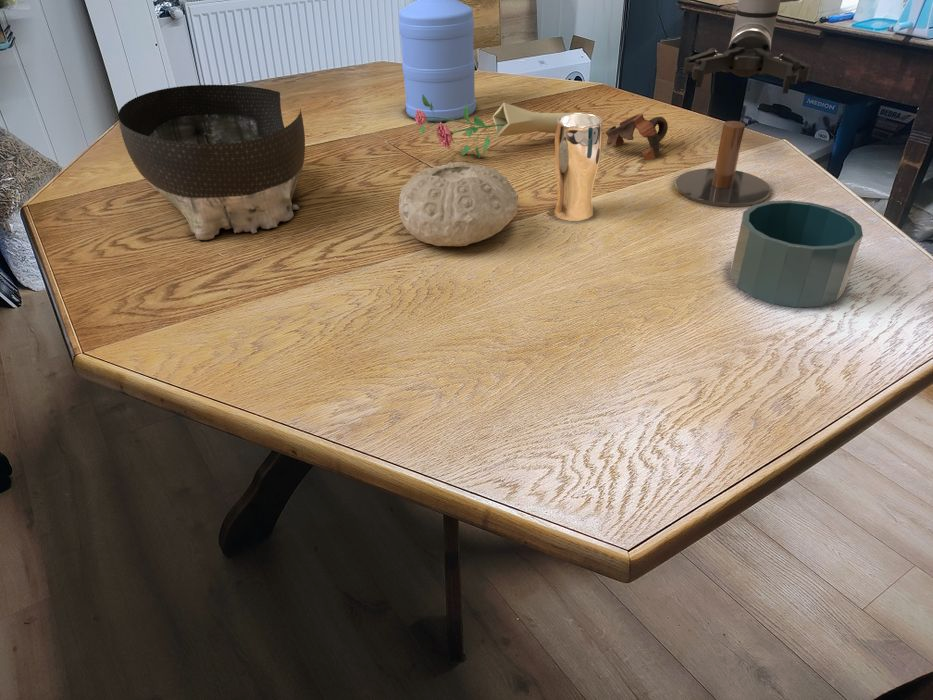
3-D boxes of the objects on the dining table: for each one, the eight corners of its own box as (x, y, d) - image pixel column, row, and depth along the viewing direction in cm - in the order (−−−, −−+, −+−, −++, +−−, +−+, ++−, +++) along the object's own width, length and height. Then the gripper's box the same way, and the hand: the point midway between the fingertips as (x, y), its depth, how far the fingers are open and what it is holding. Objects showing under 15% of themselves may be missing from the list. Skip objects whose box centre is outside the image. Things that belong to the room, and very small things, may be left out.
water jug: (483, 119, 148) (480, -27, 132) (411, 126, 146) (400, -22, 129) (467, 99, 161) (463, -37, 144) (401, 105, 158) (389, -32, 142)
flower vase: (578, 179, 138) (423, 177, 121) (550, 144, 145) (399, 138, 128) (603, 128, 130) (441, 118, 113) (573, 93, 137) (415, 79, 120)
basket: (310, 156, 133) (295, 68, 124) (321, 233, 105) (303, 128, 96) (157, 173, 128) (130, 83, 119) (127, 258, 101) (87, 150, 91)
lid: (769, 180, 116) (785, 113, 110) (767, 215, 105) (784, 144, 99) (680, 171, 121) (690, 106, 114) (669, 204, 110) (679, 135, 103)
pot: (839, 266, 92) (858, 207, 87) (844, 319, 82) (866, 256, 77) (732, 252, 96) (745, 195, 91) (725, 300, 86) (739, 239, 81)
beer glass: (564, 228, 104) (569, 130, 95) (543, 210, 109) (547, 116, 100) (604, 220, 106) (613, 123, 97) (582, 203, 111) (588, 109, 102)
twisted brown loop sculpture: (637, 171, 123) (619, 128, 120) (609, 177, 132) (591, 137, 129) (687, 140, 126) (670, 98, 123) (655, 149, 134) (639, 109, 132)
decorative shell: (408, 208, 112) (403, 148, 106) (517, 207, 111) (518, 147, 105) (393, 261, 97) (386, 194, 91) (518, 261, 96) (519, 194, 90)
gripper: (816, 76, 126) (819, 111, 110) (677, 68, 134) (661, 99, 118) (827, 32, 121) (832, 62, 106) (683, 26, 129) (667, 53, 113)
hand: (742, 81), depth 112 cm, fingers open, 13 cm apart
